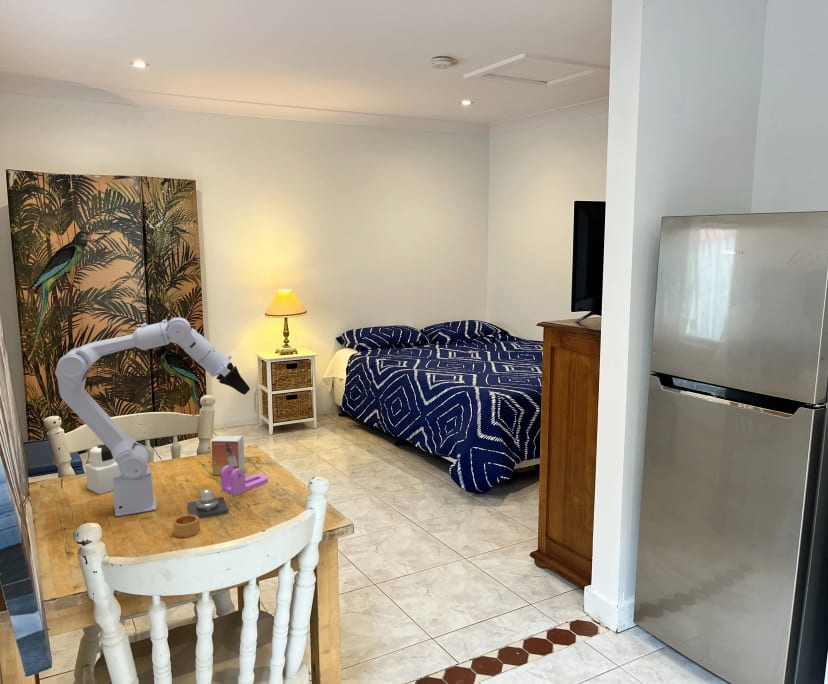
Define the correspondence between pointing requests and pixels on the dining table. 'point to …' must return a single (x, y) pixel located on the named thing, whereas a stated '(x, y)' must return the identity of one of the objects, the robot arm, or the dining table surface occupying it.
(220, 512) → the stand
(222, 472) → the bracket
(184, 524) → the wooden ring
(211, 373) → the robot arm
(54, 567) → the dining table surface
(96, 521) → the dining table surface
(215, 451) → the small box
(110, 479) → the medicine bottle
